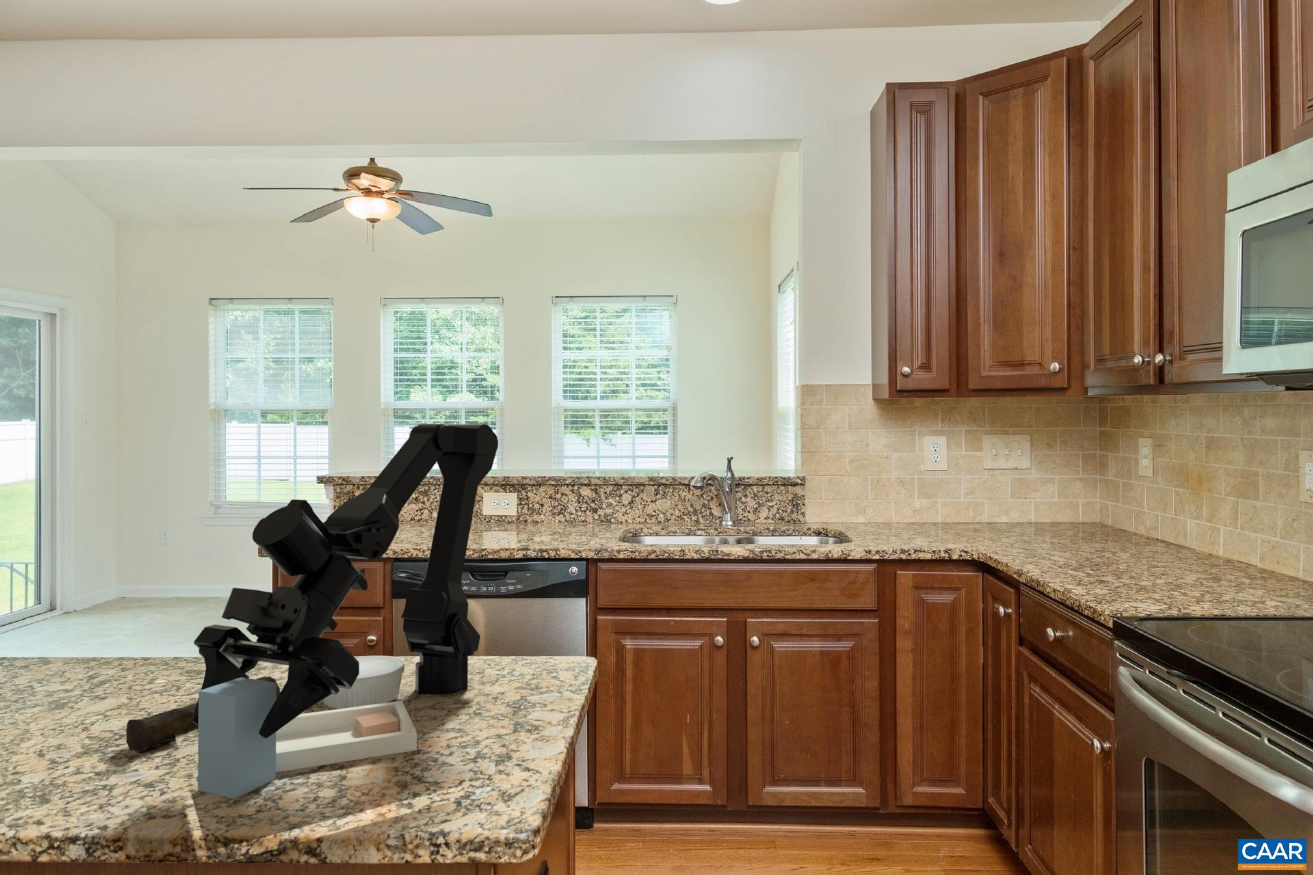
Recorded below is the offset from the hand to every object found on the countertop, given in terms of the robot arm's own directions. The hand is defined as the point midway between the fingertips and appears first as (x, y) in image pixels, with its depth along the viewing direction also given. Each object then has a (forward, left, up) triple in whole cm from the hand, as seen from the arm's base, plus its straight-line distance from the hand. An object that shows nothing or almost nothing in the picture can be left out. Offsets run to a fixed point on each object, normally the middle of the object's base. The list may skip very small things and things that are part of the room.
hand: (228, 729), depth 80 cm
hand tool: (+3, -24, -7) cm, 25 cm away
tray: (-11, -8, -7) cm, 15 cm away
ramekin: (-15, -25, -7) cm, 30 cm away
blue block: (-1, -1, -7) cm, 7 cm away
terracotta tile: (-15, -10, -6) cm, 19 cm away
